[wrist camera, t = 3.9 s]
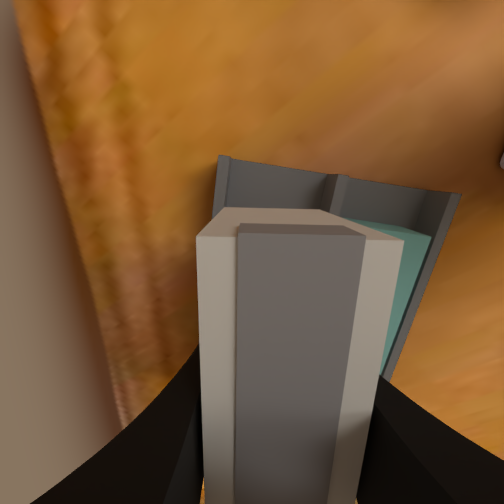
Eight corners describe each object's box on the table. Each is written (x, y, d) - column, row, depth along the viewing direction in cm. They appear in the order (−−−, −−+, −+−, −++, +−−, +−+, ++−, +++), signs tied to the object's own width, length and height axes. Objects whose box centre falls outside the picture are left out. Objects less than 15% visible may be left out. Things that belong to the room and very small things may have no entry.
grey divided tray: (430, 191, 17) (467, 194, 14) (364, 381, 21) (381, 413, 18) (223, 157, 16) (217, 154, 13) (200, 362, 20) (192, 393, 18)
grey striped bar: (319, 206, 11) (408, 236, 5) (301, 402, 13) (343, 576, 7) (224, 204, 11) (194, 231, 5) (225, 401, 13) (206, 577, 7)
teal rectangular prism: (400, 226, 17) (431, 236, 14) (359, 351, 20) (378, 381, 17) (342, 217, 17) (361, 226, 14) (309, 345, 19) (319, 374, 17)
